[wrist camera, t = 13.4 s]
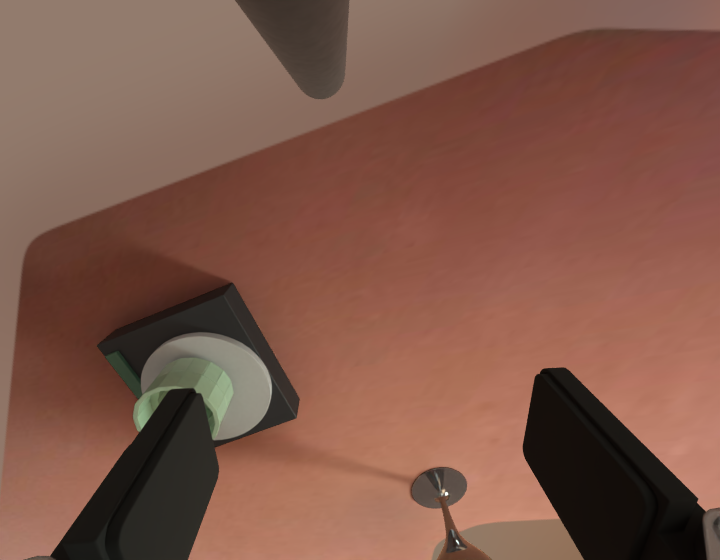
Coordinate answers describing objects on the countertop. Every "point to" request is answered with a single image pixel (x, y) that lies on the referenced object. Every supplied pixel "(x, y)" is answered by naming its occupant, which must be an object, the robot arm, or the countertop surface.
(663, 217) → the countertop surface
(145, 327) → the scale
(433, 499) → the wine glass
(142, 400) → the bowl
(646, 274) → the countertop surface
